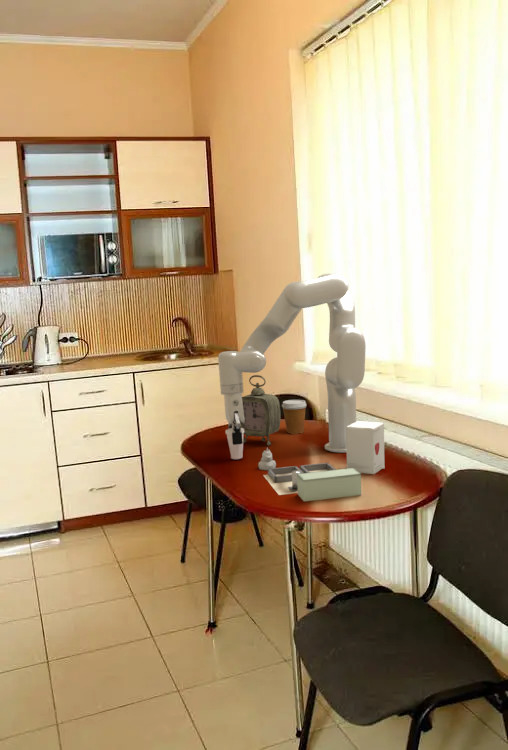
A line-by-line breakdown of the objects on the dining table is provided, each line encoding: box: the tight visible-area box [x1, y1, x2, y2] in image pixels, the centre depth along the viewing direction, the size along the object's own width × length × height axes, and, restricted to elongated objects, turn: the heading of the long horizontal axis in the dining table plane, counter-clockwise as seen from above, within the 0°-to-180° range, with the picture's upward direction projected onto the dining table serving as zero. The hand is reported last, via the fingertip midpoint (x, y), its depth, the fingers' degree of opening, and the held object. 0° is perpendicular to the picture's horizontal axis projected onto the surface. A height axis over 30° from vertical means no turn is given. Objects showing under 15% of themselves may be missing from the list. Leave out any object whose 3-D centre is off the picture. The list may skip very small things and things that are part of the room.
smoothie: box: [225, 422, 245, 460], centre depth 235 cm, size 6×6×14 cm
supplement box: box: [346, 420, 385, 475], centre depth 212 cm, size 9×9×15 cm
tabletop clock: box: [240, 374, 281, 447], centre depth 255 cm, size 14×9×25 cm, turn 56°
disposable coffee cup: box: [281, 399, 308, 435], centre depth 270 cm, size 10×10×12 cm
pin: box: [292, 470, 300, 490], centre depth 196 cm, size 2×2×5 cm
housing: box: [297, 468, 362, 502], centre depth 190 cm, size 16×6×7 cm, turn 102°
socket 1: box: [267, 465, 303, 483], centre depth 208 cm, size 9×9×2 cm
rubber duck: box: [258, 447, 277, 471], centre depth 219 cm, size 5×7×8 cm
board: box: [262, 469, 328, 496], centre depth 204 cm, size 22×20×1 cm
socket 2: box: [299, 462, 337, 473], centre depth 210 cm, size 9×9×2 cm
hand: (235, 441), depth 235 cm, fingers closed on smoothie, 6 cm apart
